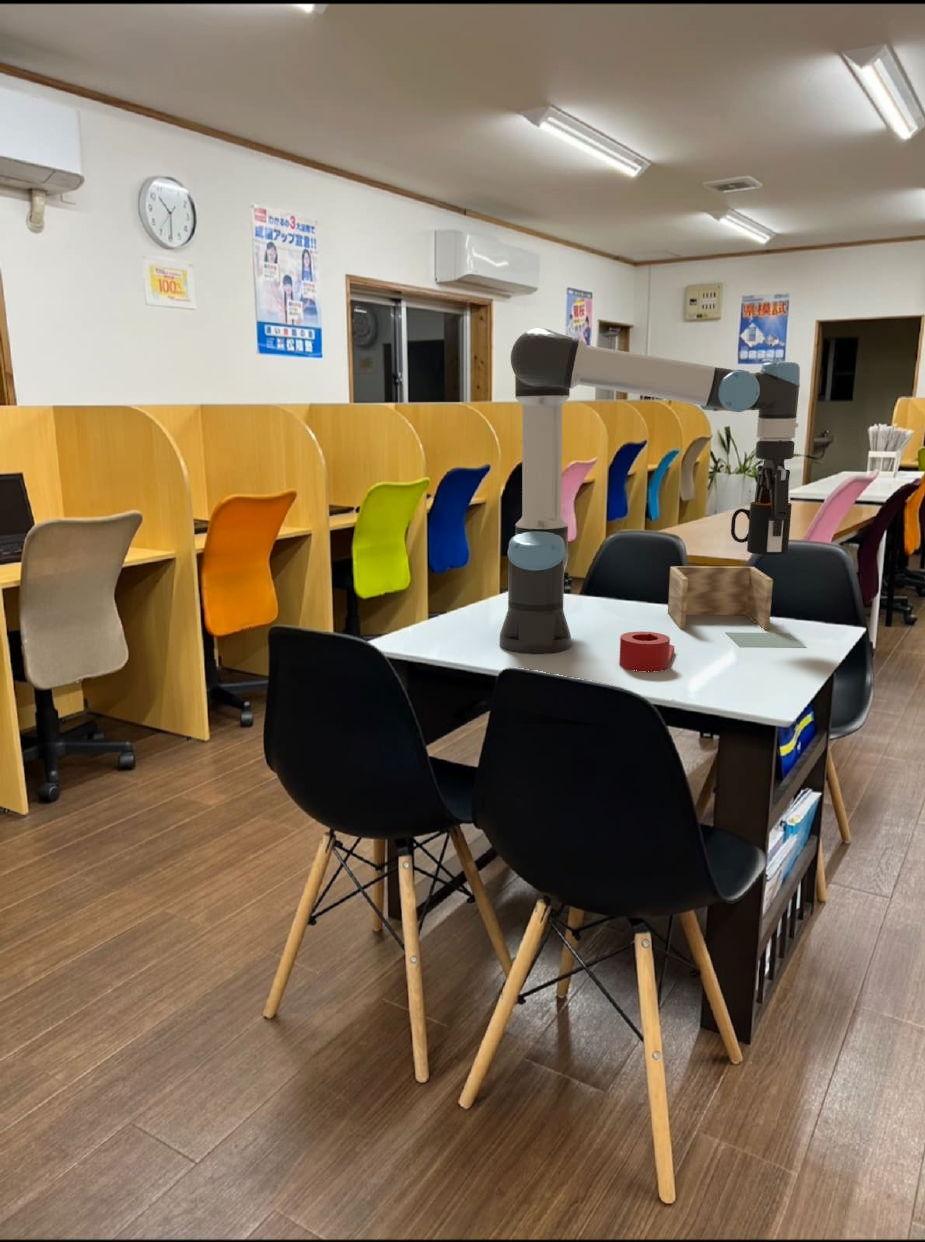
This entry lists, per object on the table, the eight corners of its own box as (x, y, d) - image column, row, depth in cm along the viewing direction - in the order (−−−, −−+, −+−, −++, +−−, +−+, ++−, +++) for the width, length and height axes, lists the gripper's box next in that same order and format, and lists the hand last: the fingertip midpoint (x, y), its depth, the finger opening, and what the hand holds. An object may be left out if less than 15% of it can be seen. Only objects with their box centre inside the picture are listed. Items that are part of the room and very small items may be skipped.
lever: (657, 680, 168) (659, 646, 166) (611, 672, 173) (612, 639, 171) (690, 657, 183) (691, 626, 181) (646, 651, 188) (648, 620, 186)
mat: (739, 649, 188) (739, 646, 188) (725, 635, 199) (725, 632, 199) (806, 650, 187) (807, 647, 187) (789, 635, 199) (789, 632, 199)
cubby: (679, 630, 203) (682, 579, 200) (667, 614, 219) (670, 566, 216) (768, 631, 202) (773, 579, 199) (750, 614, 218) (753, 566, 215)
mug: (733, 546, 197) (736, 499, 195) (790, 550, 192) (794, 502, 189) (725, 552, 190) (728, 503, 188) (784, 556, 185) (788, 506, 182)
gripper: (811, 441, 174) (802, 556, 180) (777, 437, 195) (769, 540, 200) (773, 441, 174) (764, 556, 180) (743, 437, 195) (736, 540, 200)
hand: (767, 548), depth 190 cm, fingers closed on mug, 8 cm apart
